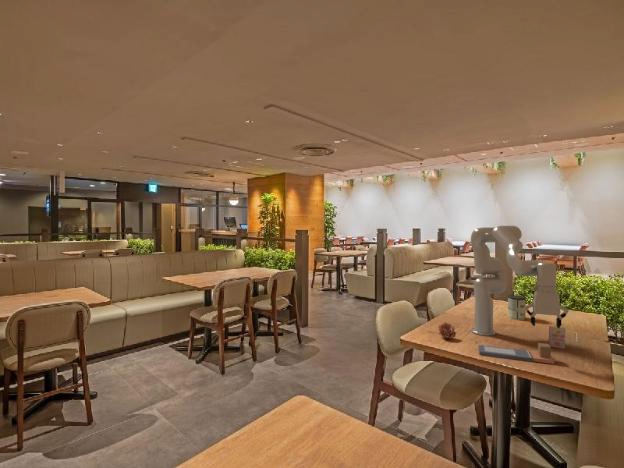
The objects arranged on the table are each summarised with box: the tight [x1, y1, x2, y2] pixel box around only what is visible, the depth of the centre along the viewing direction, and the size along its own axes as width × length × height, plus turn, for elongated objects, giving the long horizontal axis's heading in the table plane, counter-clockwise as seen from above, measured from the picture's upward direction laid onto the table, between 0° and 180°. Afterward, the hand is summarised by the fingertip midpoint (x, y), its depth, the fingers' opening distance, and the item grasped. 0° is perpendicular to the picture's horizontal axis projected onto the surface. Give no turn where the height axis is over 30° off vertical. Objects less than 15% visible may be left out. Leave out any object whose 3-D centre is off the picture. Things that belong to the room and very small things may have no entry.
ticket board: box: [477, 344, 534, 363], centre depth 172 cm, size 10×22×2 cm, turn 68°
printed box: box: [548, 326, 566, 350], centre depth 182 cm, size 4×7×10 cm, turn 54°
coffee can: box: [507, 294, 527, 321], centre depth 235 cm, size 10×10×14 cm
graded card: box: [565, 330, 578, 343], centre depth 200 cm, size 11×1×18 cm
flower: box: [438, 321, 457, 340], centre depth 195 cm, size 10×9×8 cm
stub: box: [529, 342, 555, 365], centre depth 166 cm, size 10×8×6 cm
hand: (545, 326), depth 164 cm, fingers open, 9 cm apart
